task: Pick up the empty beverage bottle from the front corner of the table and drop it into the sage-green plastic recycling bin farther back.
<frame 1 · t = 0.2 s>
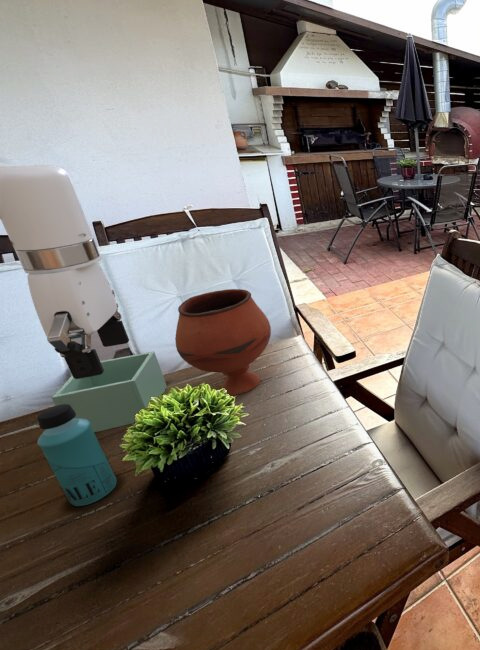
hand: (104, 359, 62), 30 cm above the table, tool pointing down, fingers open, 9 cm apart
bin: (123, 410, 96), on the table
beverage bottle: (97, 498, 73), on the table
goblet: (240, 386, 105), on the table
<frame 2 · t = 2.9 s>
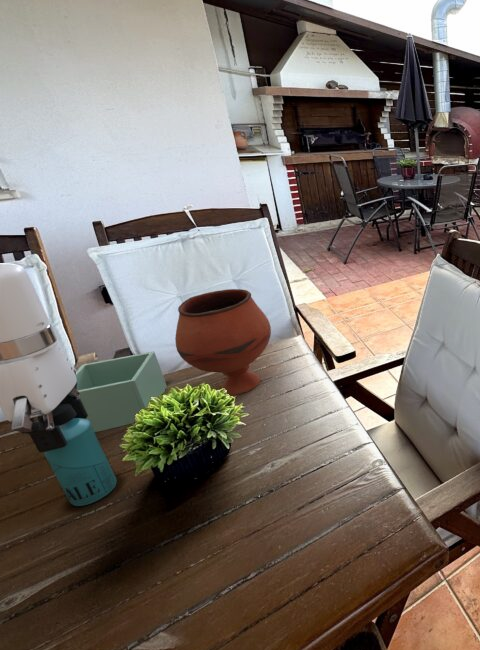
hand: (65, 433, 68), 15 cm above the table, tool pointing down, fingers closed on beverage bottle, 6 cm apart
beverage bottle: (97, 498, 73), on the table, touching gripper
everything else where it was.
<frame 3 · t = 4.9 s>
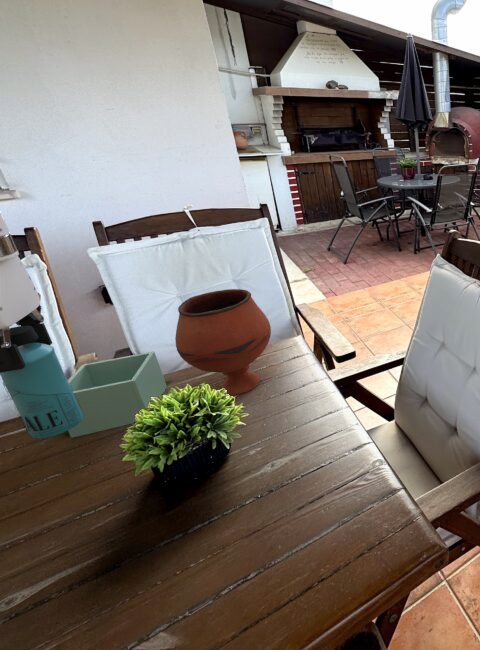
hand: (25, 357, 63), 30 cm above the table, tool pointing down, fingers closed on beverage bottle, 6 cm apart
beverage bottle: (61, 434, 68), point 15 cm above the table, touching gripper
everything else where it was.
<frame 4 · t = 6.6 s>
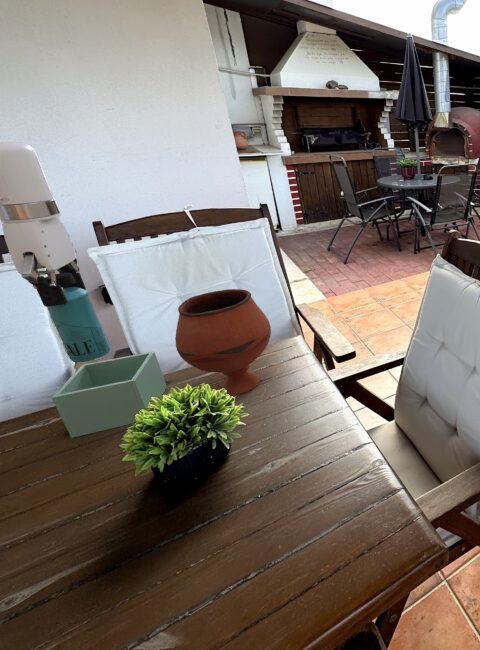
hand: (66, 297, 81), 32 cm above the table, tool pointing down, fingers closed on beverage bottle, 6 cm apart
beverage bottle: (94, 361, 86), point 16 cm above the table, touching gripper
everything else where it was.
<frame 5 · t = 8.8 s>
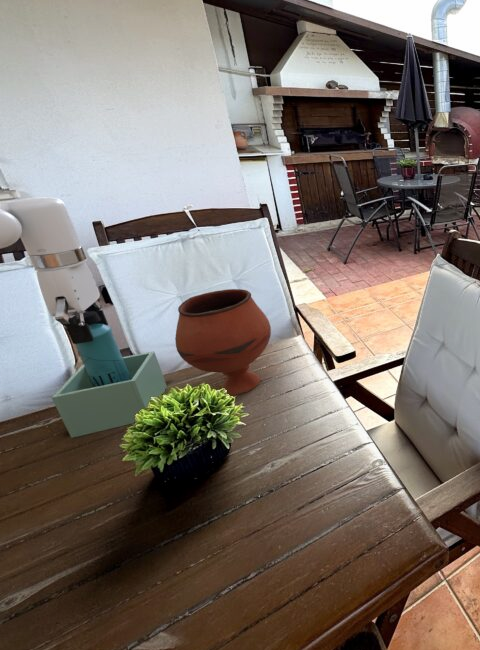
hand: (91, 333, 88), 21 cm above the table, tool pointing down, fingers closed on beverage bottle, 6 cm apart
beverage bottle: (116, 390, 94), point 6 cm above the table, touching gripper
everything else where it was.
when the fingers open (16 cm above the table, at t = 10.5 s): beverage bottle stays where it is, resting on bin.
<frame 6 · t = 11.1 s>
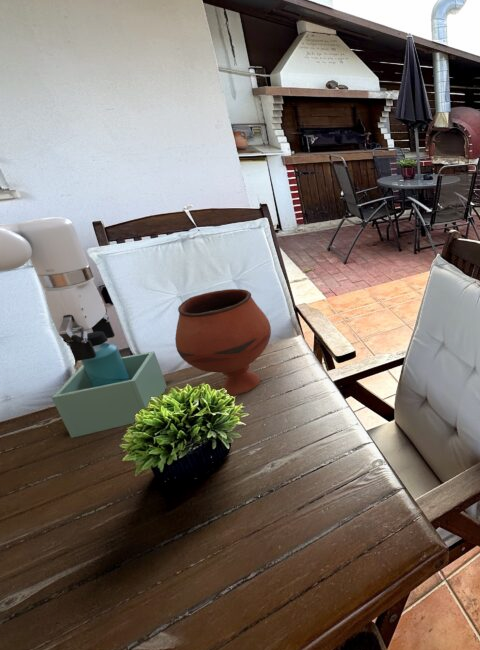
hand: (96, 348, 90), 17 cm above the table, tool pointing down, fingers open, 9 cm apart
beverage bottle: (122, 408, 96), point 1 cm above the table, touching bin
everything else where it was.
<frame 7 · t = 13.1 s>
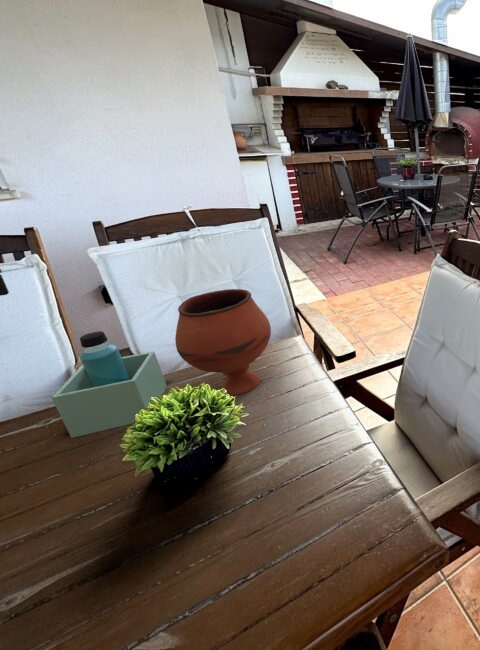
nothing on the table moved.
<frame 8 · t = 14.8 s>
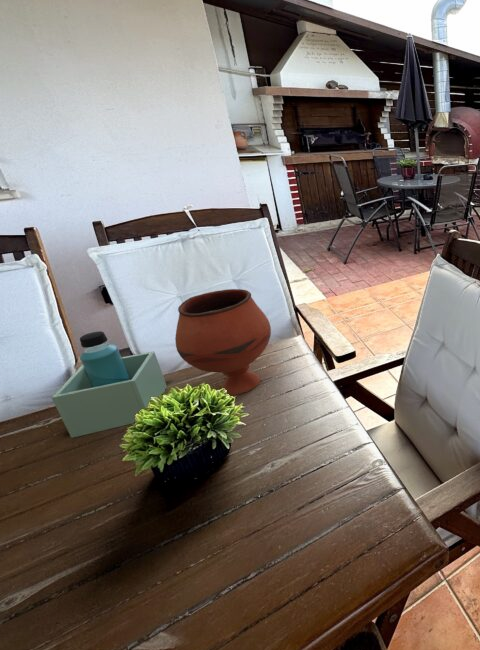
nothing on the table moved.
at the end: beverage bottle inside the target area in the bin (0.0 cm from its centre), point 0.6 cm above the bin's base; the gripper is holding nothing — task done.
